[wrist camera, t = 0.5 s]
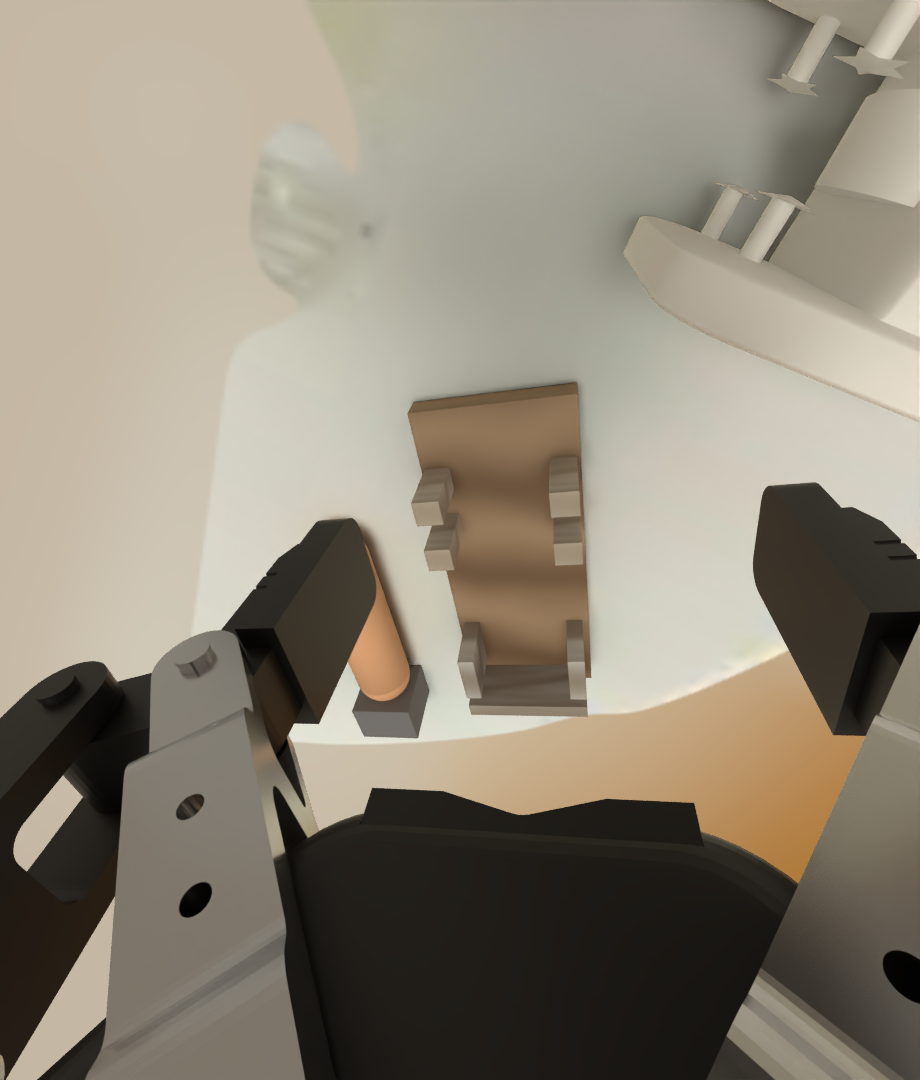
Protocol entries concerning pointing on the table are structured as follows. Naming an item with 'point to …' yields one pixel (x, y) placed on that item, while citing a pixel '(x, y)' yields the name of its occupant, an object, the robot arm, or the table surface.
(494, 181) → the table surface
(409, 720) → the tan rounded rod
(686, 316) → the cable organizer
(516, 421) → the brown pegged board
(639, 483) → the table surface
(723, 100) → the table surface
